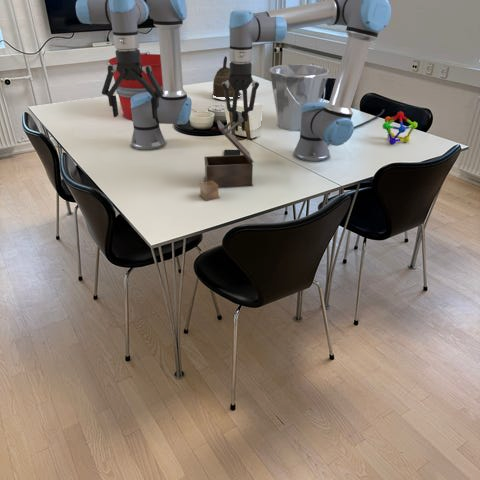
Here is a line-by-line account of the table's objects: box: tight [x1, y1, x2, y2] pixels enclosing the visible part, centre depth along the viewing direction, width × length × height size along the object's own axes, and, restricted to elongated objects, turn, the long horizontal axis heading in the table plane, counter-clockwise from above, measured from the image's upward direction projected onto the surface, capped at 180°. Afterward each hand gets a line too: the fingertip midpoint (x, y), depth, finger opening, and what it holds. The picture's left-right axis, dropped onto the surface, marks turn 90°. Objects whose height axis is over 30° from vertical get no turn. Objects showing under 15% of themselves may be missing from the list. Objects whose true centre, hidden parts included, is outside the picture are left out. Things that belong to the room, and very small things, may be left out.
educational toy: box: [382, 110, 418, 145], centre depth 207 cm, size 16×13×15 cm
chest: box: [204, 154, 254, 189], centre depth 170 cm, size 17×10×9 cm, turn 98°
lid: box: [216, 111, 254, 164], centre depth 163 cm, size 18×10×9 cm
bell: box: [212, 56, 242, 97], centre depth 278 cm, size 19×26×20 cm
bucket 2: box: [269, 63, 330, 131], centre depth 226 cm, size 30×30×28 cm
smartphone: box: [223, 149, 241, 156], centre depth 194 cm, size 7×1×15 cm
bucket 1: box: [105, 51, 163, 121], centre depth 241 cm, size 35×35×30 cm
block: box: [199, 180, 220, 201], centre depth 160 cm, size 5×5×5 cm
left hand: (135, 116), depth 150 cm, fingers open, 13 cm apart
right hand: (239, 129), depth 162 cm, fingers closed on lid, 2 cm apart
